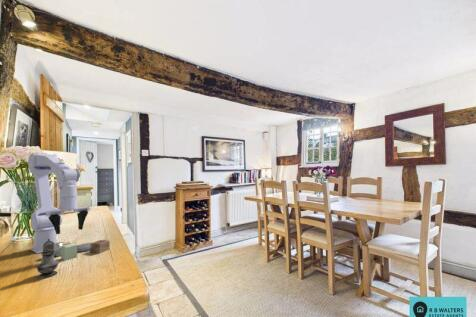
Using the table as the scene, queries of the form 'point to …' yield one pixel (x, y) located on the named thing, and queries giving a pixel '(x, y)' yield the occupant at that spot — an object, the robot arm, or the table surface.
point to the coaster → (84, 247)
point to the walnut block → (99, 246)
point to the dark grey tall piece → (47, 261)
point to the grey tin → (57, 249)
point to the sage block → (69, 251)
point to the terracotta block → (66, 243)
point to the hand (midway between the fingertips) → (69, 231)
